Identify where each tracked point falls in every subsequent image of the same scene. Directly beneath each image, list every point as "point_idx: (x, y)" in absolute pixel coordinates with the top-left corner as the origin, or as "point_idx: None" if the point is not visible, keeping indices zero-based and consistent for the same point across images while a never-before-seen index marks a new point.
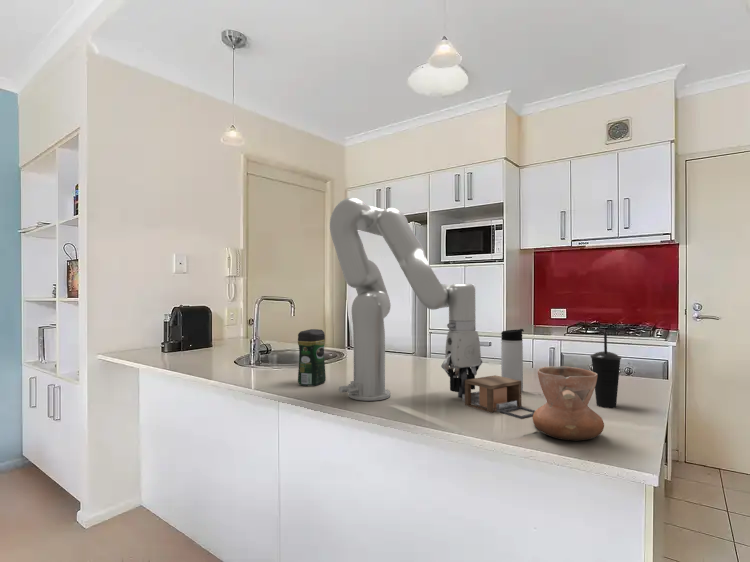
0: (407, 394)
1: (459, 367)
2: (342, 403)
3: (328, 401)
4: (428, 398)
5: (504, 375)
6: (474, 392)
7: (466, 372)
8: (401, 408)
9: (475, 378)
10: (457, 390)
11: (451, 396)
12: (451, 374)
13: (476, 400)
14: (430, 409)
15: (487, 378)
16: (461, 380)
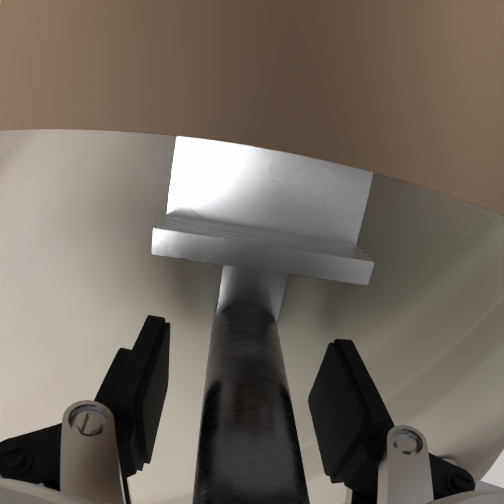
0: (312, 486)
1: (475, 492)
2: (482, 456)
3: (474, 472)
4: (315, 435)
5: None
6: (236, 256)
7: (241, 472)
8: (493, 374)
9: (464, 190)
10: (353, 347)
11: (196, 407)
12: (437, 459)
13: (269, 197)
14: (476, 311)
15: (322, 12)
16: (292, 415)
